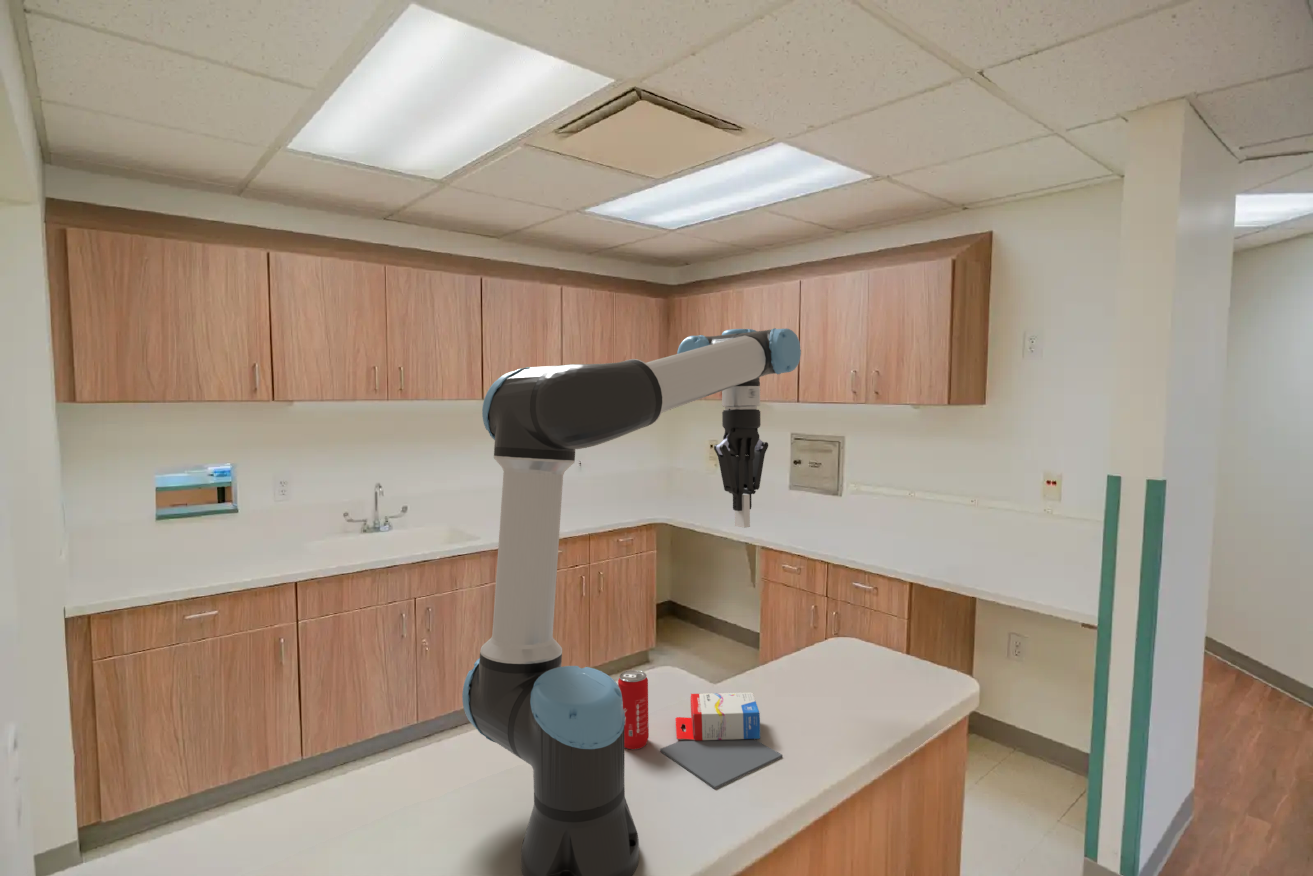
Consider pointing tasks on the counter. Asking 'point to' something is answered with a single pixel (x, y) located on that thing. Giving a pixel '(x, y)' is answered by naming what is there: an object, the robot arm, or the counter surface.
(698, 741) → the mat
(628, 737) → the beverage can
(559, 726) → the robot arm
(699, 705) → the ink box
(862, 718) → the counter surface
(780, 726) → the counter surface
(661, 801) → the counter surface
